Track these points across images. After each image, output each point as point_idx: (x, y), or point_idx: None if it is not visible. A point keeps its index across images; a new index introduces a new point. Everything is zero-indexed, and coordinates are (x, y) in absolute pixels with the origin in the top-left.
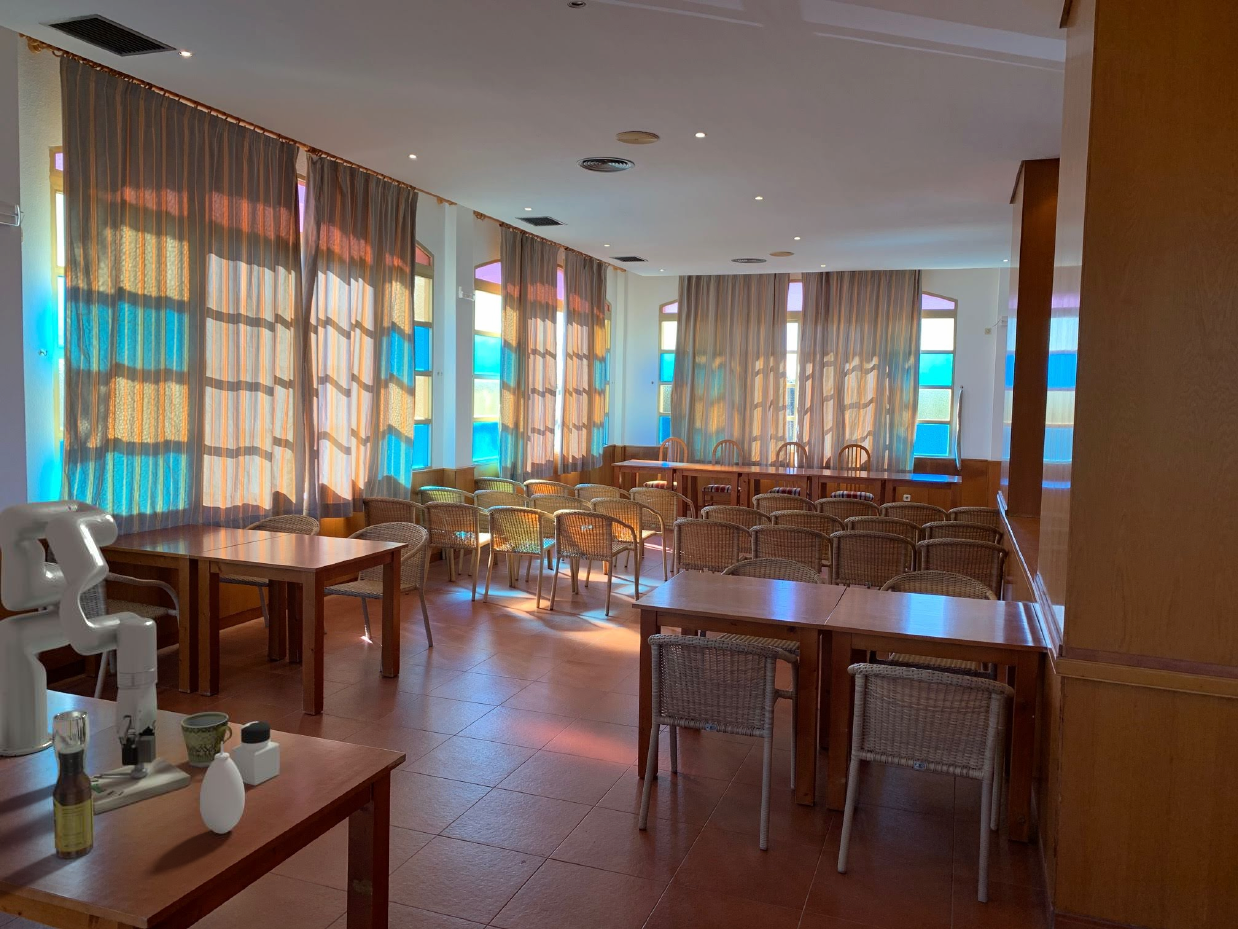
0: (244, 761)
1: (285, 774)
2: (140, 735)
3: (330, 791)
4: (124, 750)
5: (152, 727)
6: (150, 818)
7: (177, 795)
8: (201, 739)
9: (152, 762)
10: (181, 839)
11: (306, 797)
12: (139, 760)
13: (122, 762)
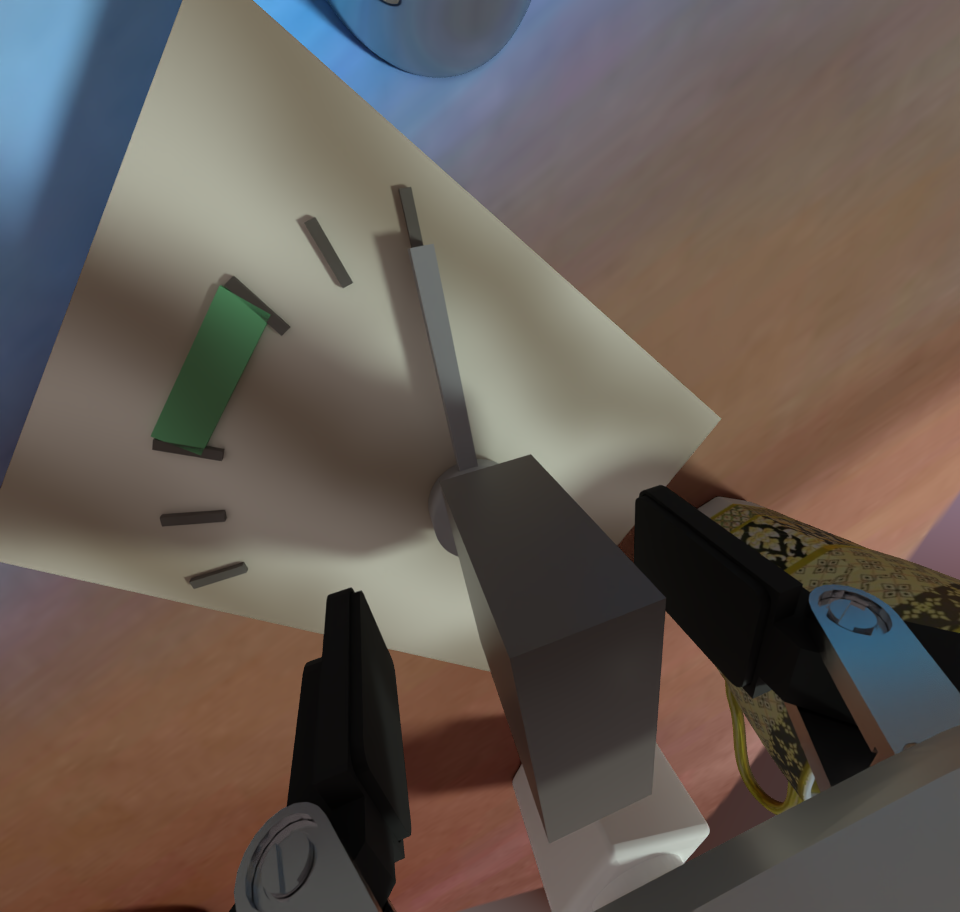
0: (560, 845)
1: None
2: (742, 597)
3: (500, 888)
4: (289, 798)
5: (810, 753)
6: (155, 739)
7: (397, 668)
8: (740, 702)
9: (656, 431)
10: (63, 908)
11: (461, 884)
12: (472, 602)
13: (325, 615)
